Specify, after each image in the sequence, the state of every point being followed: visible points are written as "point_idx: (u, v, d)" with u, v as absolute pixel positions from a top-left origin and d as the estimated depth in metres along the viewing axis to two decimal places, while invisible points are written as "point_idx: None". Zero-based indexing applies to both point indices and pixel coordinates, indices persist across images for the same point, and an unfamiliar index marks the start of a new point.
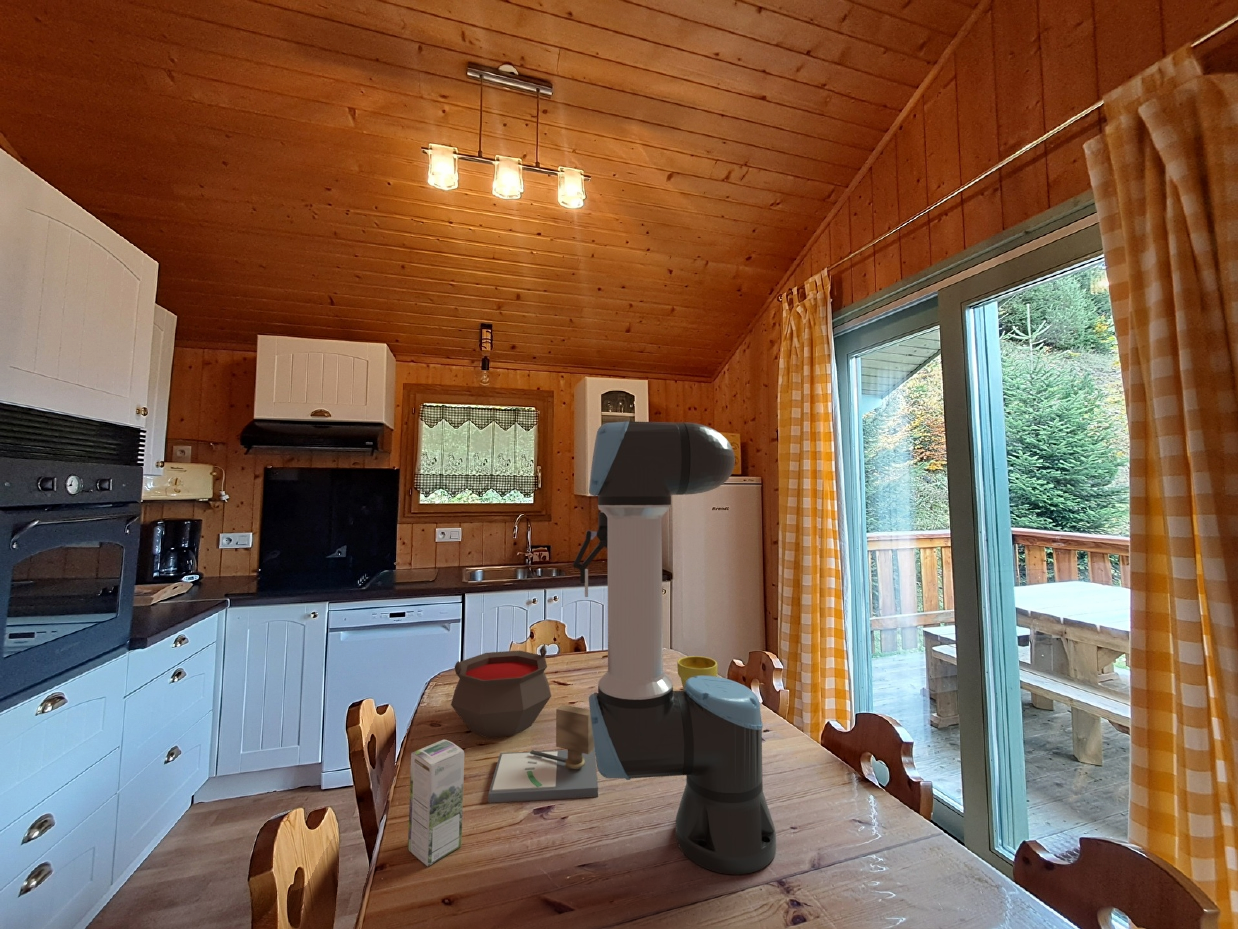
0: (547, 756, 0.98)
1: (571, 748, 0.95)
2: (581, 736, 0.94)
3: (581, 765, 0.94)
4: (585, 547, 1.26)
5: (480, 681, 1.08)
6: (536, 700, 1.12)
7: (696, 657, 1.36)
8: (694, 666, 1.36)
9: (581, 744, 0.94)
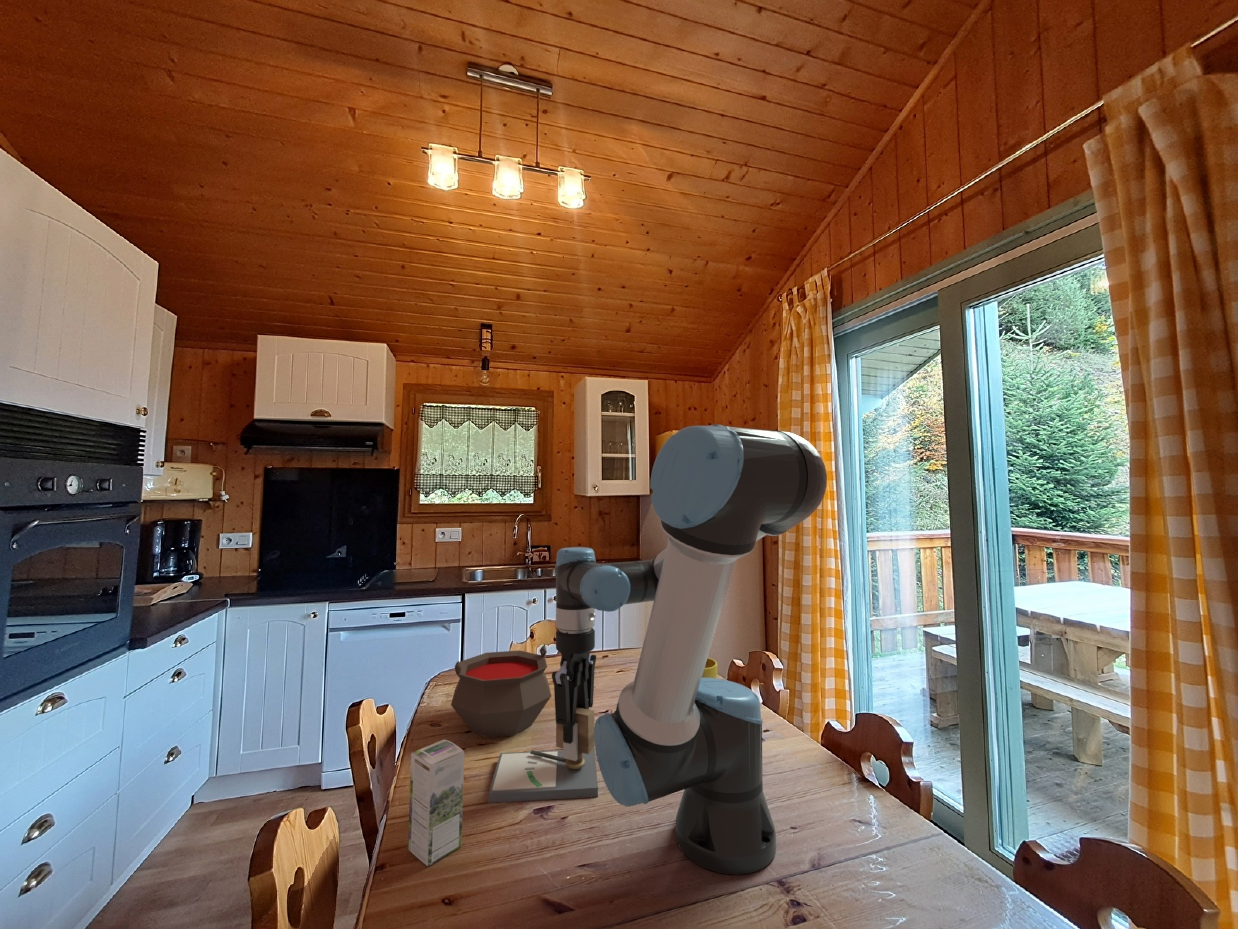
0: (547, 756, 0.98)
1: None
2: (581, 736, 0.94)
3: (581, 765, 0.94)
4: None
5: (480, 681, 1.08)
6: (536, 700, 1.12)
7: None
8: None
9: (581, 744, 0.94)
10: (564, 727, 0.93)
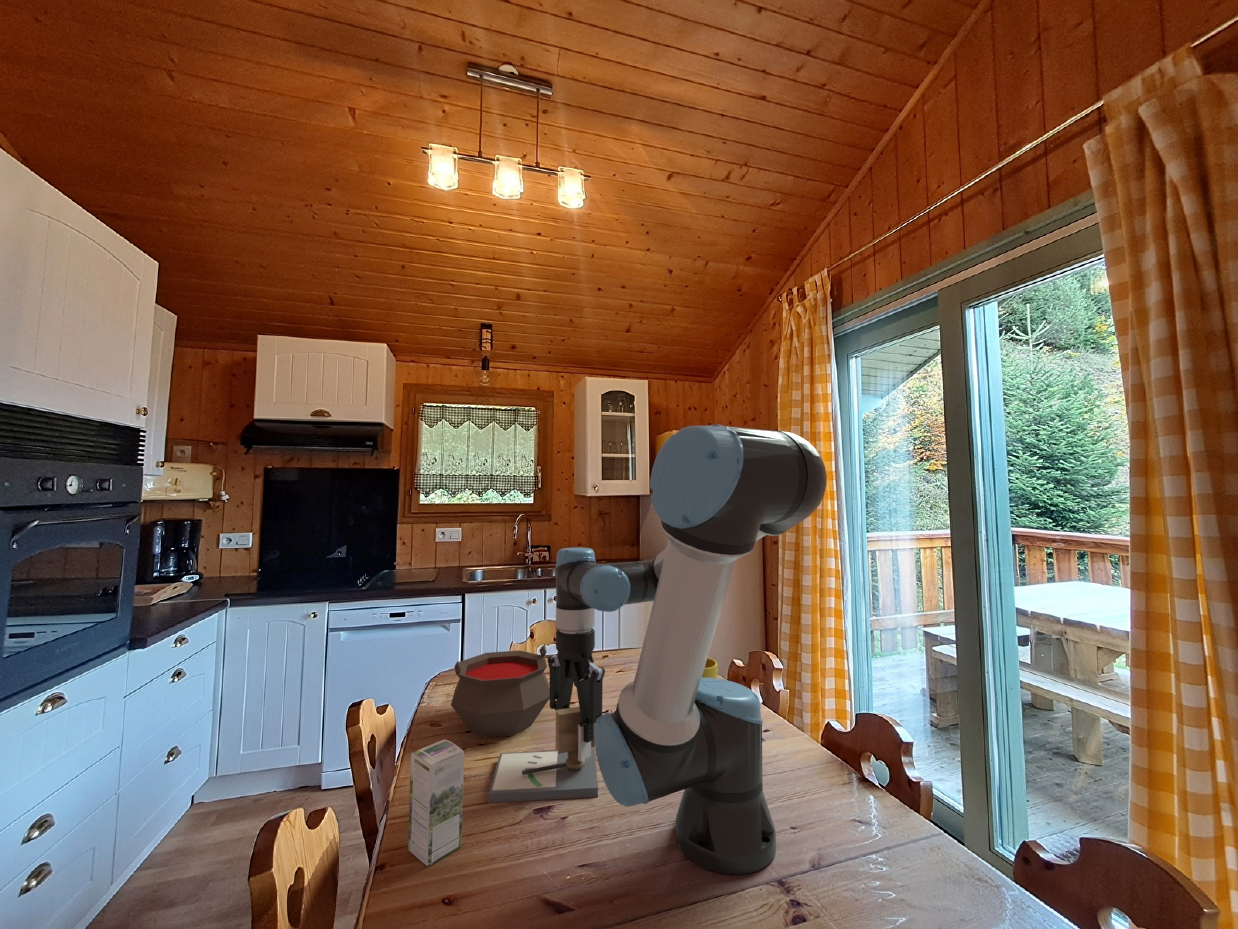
0: (544, 769, 0.93)
1: (576, 748, 0.95)
2: None
3: (584, 761, 0.96)
4: (552, 679, 0.99)
5: (480, 681, 1.08)
6: (536, 700, 1.12)
7: None
8: None
9: None
10: (589, 727, 0.93)
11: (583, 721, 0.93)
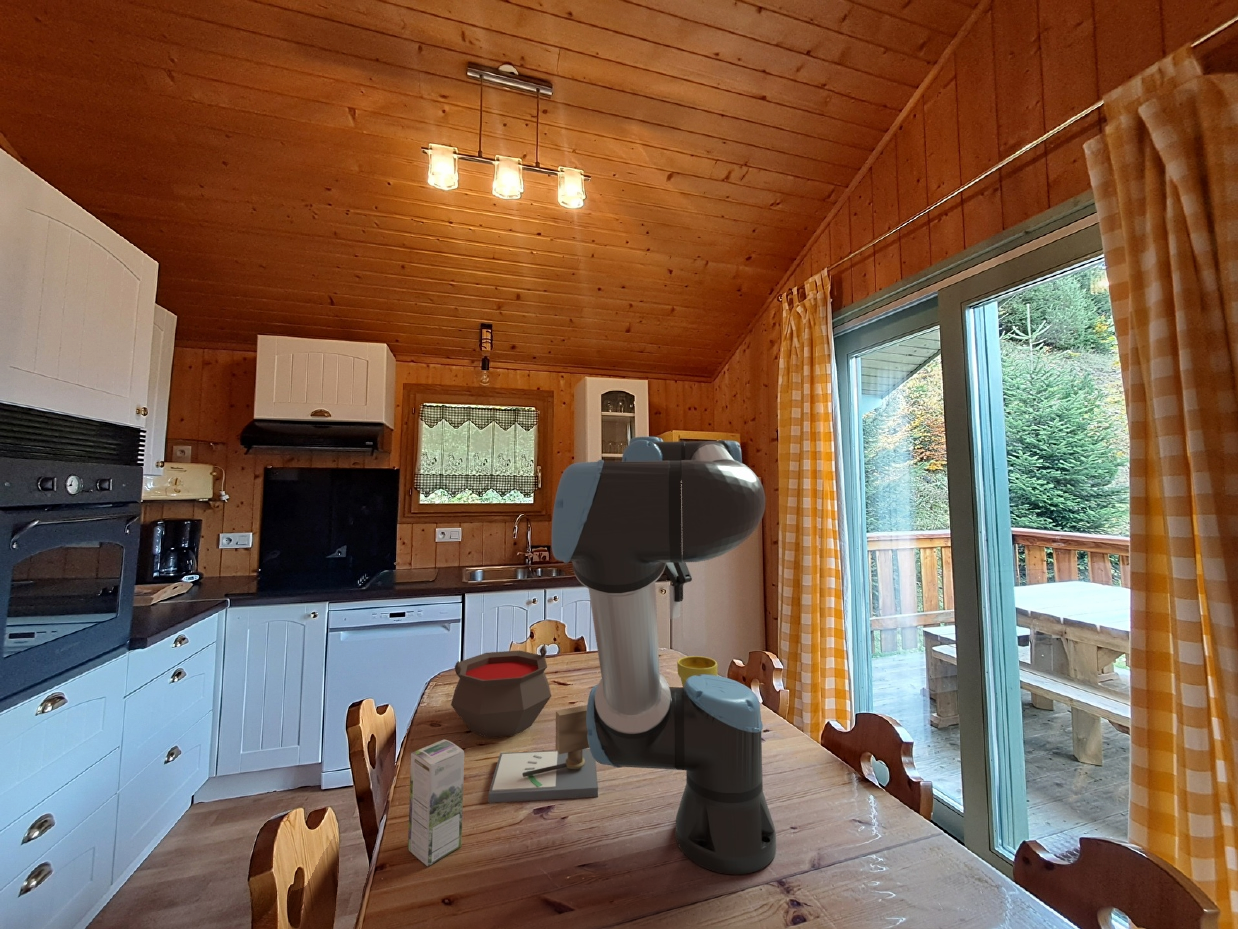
0: (544, 770, 0.93)
1: (576, 748, 0.95)
2: (587, 732, 0.96)
3: (584, 761, 0.96)
4: None
5: (480, 681, 1.08)
6: (536, 700, 1.12)
7: (696, 657, 1.36)
8: (694, 666, 1.36)
9: (587, 740, 0.96)
10: (679, 587, 0.99)
11: (674, 581, 0.99)
